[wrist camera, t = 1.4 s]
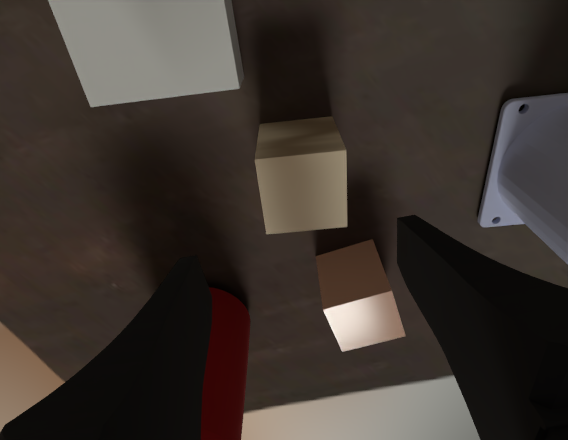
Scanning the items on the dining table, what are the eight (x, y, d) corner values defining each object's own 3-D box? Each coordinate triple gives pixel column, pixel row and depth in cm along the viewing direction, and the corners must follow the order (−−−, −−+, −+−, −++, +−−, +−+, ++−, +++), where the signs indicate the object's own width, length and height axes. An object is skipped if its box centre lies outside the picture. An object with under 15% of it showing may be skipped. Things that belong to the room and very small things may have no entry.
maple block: (332, 115, 20) (346, 150, 16) (334, 181, 22) (347, 226, 18) (259, 123, 20) (254, 159, 16) (268, 187, 22) (266, 234, 18)
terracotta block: (372, 238, 24) (391, 290, 20) (385, 280, 26) (405, 335, 22) (315, 255, 25) (322, 309, 21) (332, 295, 27) (342, 351, 23)
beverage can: (149, 284, 26) (68, 469, 16) (241, 273, 26) (217, 456, 16) (178, 345, 30) (126, 528, 20) (259, 336, 29) (248, 518, 19)
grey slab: (215, -100, 15) (203, -116, 13) (244, 75, 19) (239, 88, 17) (56, -75, 16) (13, -87, 13) (115, 91, 19) (90, 107, 17)
